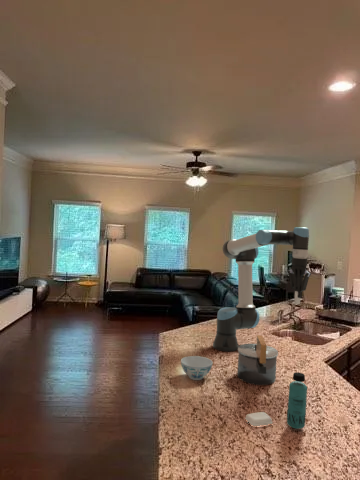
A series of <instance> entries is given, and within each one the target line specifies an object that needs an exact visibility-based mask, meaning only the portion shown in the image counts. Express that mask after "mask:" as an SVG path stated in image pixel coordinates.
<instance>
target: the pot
mask: <svg viewBox="0 0 360 480" xmlns="http://www.w3.org/2000/svg"><path fill="white" fill-rule="evenodd" d="M277 357H278V356H277ZM277 357H275V358H271V359H266V364H265V363H260V362H259V359H258V358H252V357H247V356H244V355H242V354H240V353H239V352H238V360H237V378H238V379H239V380H240V379H241V380H240V381H243V382H244V383H247V384H251V385H257V386H266V385H267V386H269V385H272V384H274V383H275V382H276V376H277V359H278V358H277Z"/></svg>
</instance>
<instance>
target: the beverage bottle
mask: <svg viewBox="0 0 360 480" xmlns="http://www.w3.org/2000/svg"><path fill="white" fill-rule="evenodd" d="M292 380H293V381H291V382H290V383H289V385H288V388H289V389H288V400H287V407H286V408H287V411H286V424H287V425H288V426H289V428H290V427H291V428H294V429H297V430H300V429H304V428H305V426H306V418H307V417H306V416H307V414H306V413H307V398H308V397H307V395H308V386H307V385H306V384H305V383H304V382H305V381H306V377H305V374H304V373H303V372H293V375H292Z"/></svg>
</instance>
